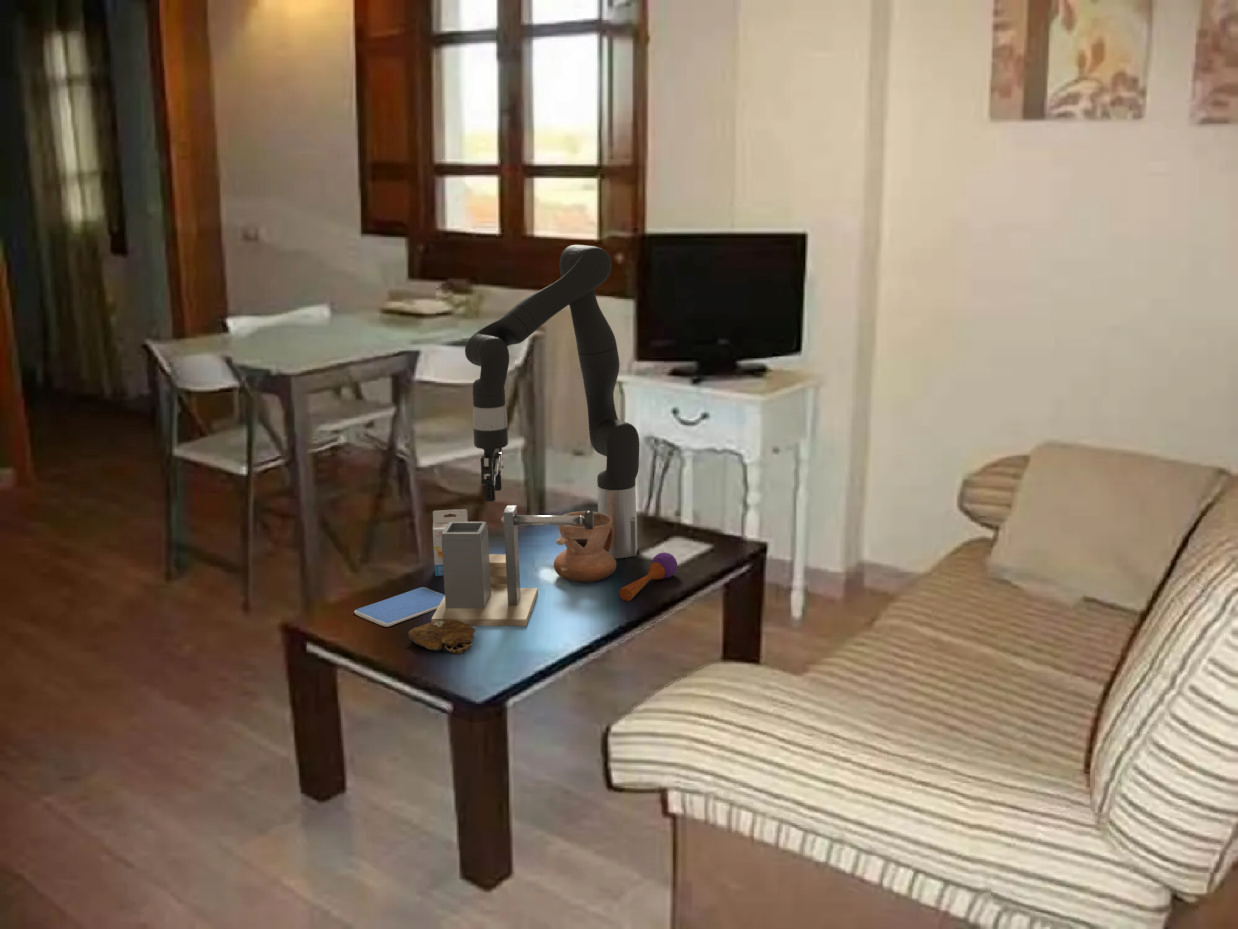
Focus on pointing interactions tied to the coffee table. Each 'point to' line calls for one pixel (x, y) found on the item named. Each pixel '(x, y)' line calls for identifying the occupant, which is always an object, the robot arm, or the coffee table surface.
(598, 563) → the ceramic jug
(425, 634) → the decorative rock
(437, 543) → the ink box
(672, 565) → the purple maraca
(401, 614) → the tablet computer
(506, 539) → the shaft bracket
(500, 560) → the collar
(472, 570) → the pedestal
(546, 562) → the coffee table surface
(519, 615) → the birch board
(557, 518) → the steel shaft
